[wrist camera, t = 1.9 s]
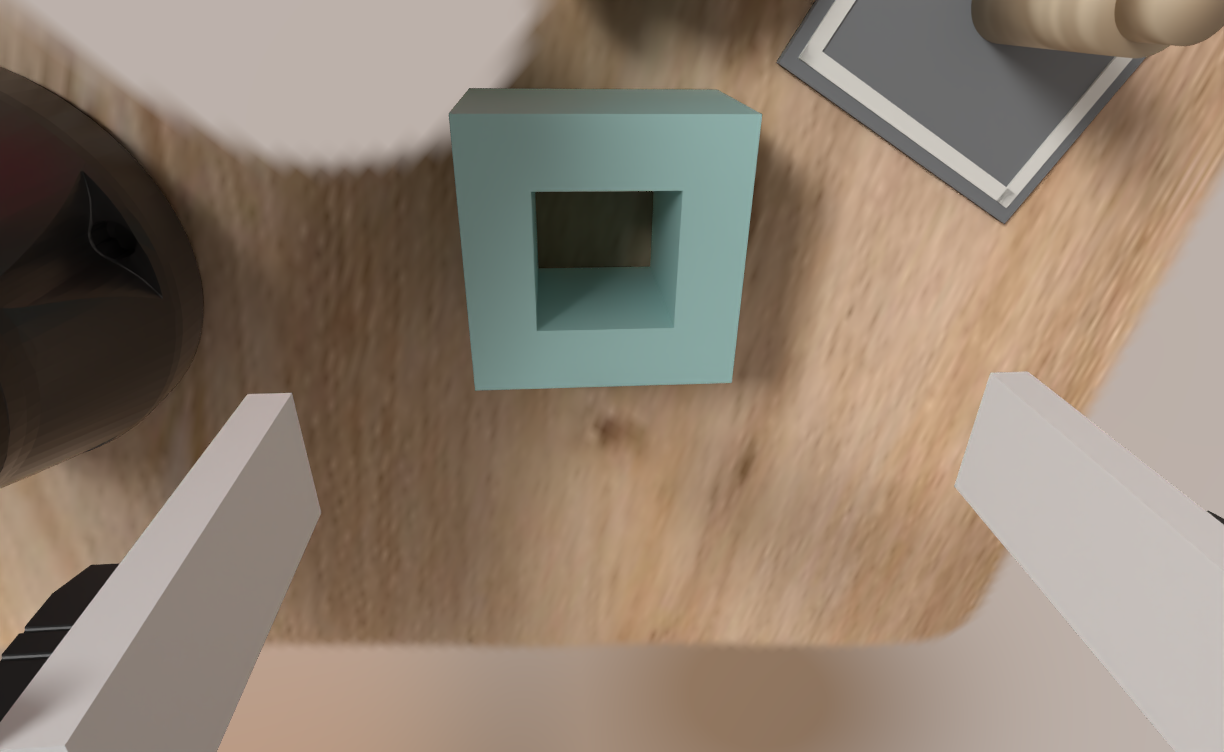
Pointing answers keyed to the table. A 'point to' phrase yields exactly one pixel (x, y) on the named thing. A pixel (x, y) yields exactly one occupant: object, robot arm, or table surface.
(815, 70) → the mat
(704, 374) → the block with square hole
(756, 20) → the table surface
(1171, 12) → the post
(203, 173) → the table surface
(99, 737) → the robot arm
